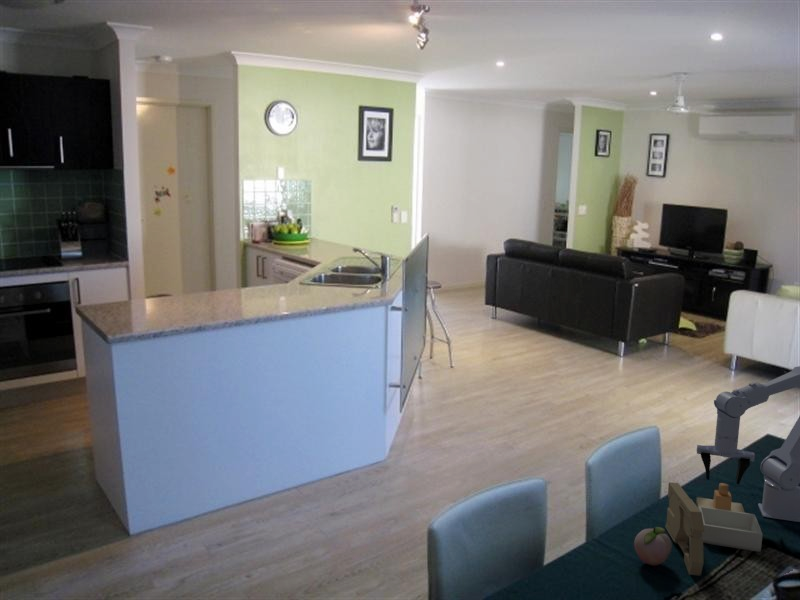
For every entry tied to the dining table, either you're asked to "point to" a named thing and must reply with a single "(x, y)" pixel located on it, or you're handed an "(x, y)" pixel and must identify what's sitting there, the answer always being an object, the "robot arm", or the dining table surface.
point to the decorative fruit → (653, 545)
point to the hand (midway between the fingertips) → (722, 480)
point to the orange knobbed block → (722, 498)
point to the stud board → (709, 503)
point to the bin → (731, 529)
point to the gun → (685, 527)
